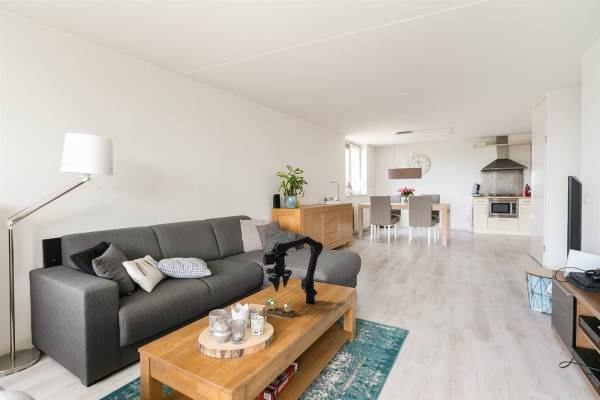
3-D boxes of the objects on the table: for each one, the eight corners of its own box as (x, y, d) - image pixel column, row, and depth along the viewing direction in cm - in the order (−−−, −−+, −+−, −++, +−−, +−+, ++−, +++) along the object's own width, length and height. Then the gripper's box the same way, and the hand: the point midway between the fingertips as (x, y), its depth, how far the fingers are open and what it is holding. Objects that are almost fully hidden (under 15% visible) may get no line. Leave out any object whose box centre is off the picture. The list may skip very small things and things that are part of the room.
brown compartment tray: (273, 309, 187) (273, 305, 187) (298, 314, 179) (298, 309, 179) (263, 316, 177) (263, 311, 177) (289, 321, 169) (289, 316, 169)
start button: (270, 303, 194) (270, 298, 194) (273, 304, 193) (273, 299, 193) (267, 305, 192) (267, 300, 192) (271, 305, 190) (271, 300, 190)
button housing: (269, 304, 195) (269, 299, 195) (275, 305, 193) (275, 300, 193) (265, 307, 191) (265, 302, 191) (271, 308, 189) (271, 303, 189)
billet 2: (286, 312, 179) (286, 302, 178) (292, 314, 177) (292, 303, 177) (283, 315, 175) (282, 304, 175) (289, 316, 173) (289, 305, 173)
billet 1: (273, 310, 183) (272, 300, 182) (279, 311, 181) (278, 301, 181) (269, 312, 179) (269, 302, 179) (275, 313, 177) (275, 303, 177)
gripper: (276, 259, 199) (277, 283, 199) (260, 265, 182) (260, 292, 183) (292, 260, 194) (292, 285, 194) (276, 267, 177) (277, 294, 178)
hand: (280, 289), depth 187 cm, fingers open, 9 cm apart
